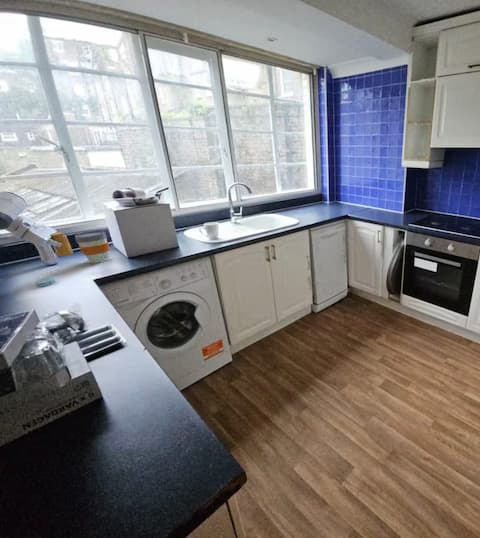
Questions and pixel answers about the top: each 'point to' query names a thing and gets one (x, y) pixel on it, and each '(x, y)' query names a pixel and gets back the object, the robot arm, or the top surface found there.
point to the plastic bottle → (47, 254)
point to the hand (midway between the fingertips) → (62, 243)
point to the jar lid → (44, 282)
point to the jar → (65, 247)
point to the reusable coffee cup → (94, 246)
